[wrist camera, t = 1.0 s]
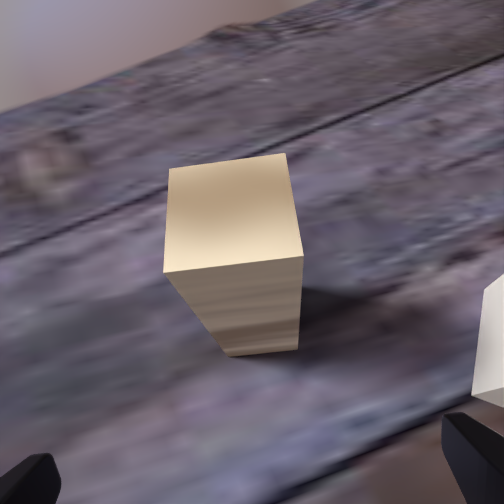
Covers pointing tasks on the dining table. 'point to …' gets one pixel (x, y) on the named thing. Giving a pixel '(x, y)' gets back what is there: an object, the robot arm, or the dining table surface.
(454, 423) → the robot arm
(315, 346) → the dining table surface
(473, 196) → the dining table surface
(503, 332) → the white slab
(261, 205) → the maple pillar
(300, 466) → the dining table surface
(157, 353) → the dining table surface
